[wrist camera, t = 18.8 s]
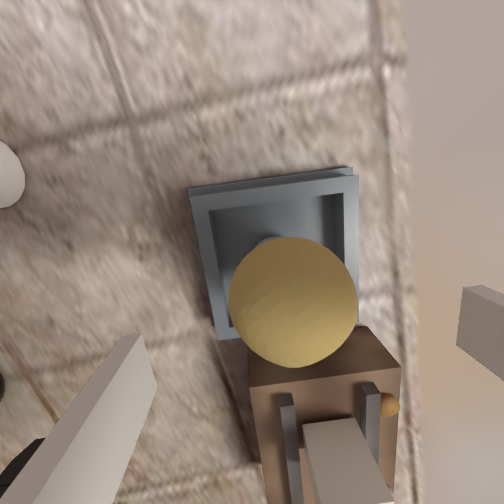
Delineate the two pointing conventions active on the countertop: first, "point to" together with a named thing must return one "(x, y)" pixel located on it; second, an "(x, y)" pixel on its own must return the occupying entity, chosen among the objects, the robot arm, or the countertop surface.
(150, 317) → the countertop surface
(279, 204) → the tray
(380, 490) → the toggle
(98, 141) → the countertop surface
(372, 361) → the switch box
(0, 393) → the supplement bottle
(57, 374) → the countertop surface
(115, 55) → the countertop surface
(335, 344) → the light bulb
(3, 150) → the white conical ring
